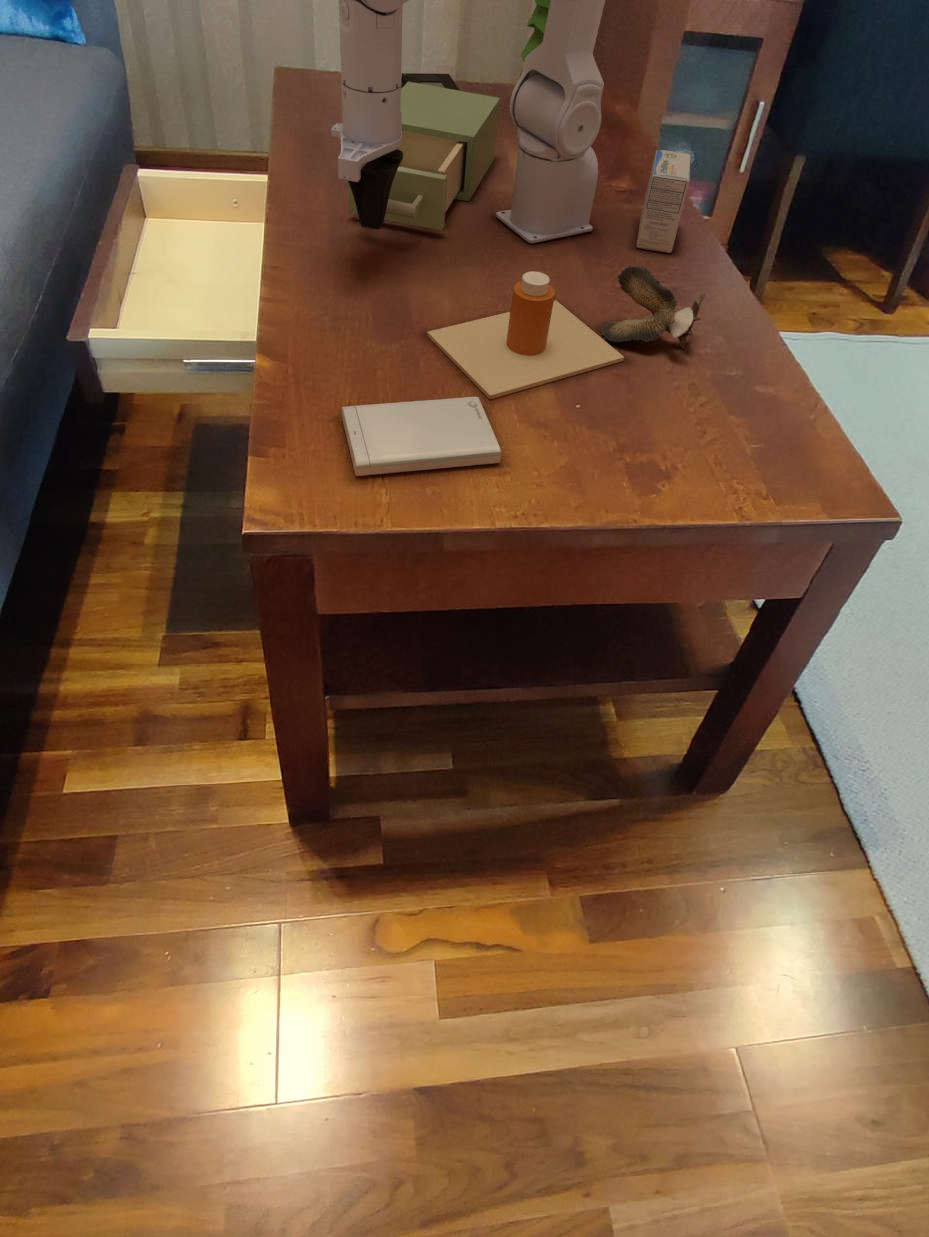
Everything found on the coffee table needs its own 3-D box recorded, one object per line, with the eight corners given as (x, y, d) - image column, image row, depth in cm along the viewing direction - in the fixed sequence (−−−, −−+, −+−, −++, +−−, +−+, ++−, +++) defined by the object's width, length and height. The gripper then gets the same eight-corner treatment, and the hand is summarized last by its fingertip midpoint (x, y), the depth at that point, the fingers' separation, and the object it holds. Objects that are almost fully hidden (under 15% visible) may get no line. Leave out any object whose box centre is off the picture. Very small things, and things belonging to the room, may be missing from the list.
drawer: (431, 247, 95) (434, 194, 90) (336, 228, 96) (334, 175, 91) (469, 186, 106) (473, 137, 102) (383, 170, 107) (384, 120, 103)
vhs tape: (447, 87, 132) (448, 73, 130) (469, 122, 123) (471, 107, 122) (401, 87, 130) (401, 73, 129) (420, 122, 121) (420, 107, 120)
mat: (555, 304, 90) (556, 300, 90) (623, 361, 84) (624, 356, 84) (427, 335, 84) (427, 331, 84) (489, 399, 78) (490, 395, 77)
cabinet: (468, 201, 105) (474, 136, 100) (373, 183, 107) (373, 118, 101) (494, 159, 115) (500, 97, 109) (406, 143, 116) (408, 81, 110)
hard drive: (478, 394, 75) (341, 403, 73) (502, 450, 70) (355, 462, 68) (476, 409, 77) (341, 419, 74) (499, 465, 72) (356, 478, 69)
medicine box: (671, 255, 100) (691, 179, 94) (634, 248, 100) (652, 172, 94) (673, 227, 105) (693, 153, 99) (638, 221, 106) (655, 147, 99)
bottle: (531, 330, 85) (541, 264, 80) (553, 350, 83) (565, 283, 78) (498, 338, 84) (506, 272, 79) (520, 359, 82) (530, 291, 76)
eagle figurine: (691, 311, 89) (612, 282, 89) (717, 278, 82) (633, 245, 82) (670, 375, 88) (591, 346, 88) (696, 347, 81) (610, 314, 81)
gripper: (356, 53, 85) (358, 192, 95) (303, 99, 75) (312, 247, 86) (422, 65, 84) (417, 203, 94) (378, 113, 75) (378, 260, 85)
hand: (371, 225), depth 90 cm, fingers closed
